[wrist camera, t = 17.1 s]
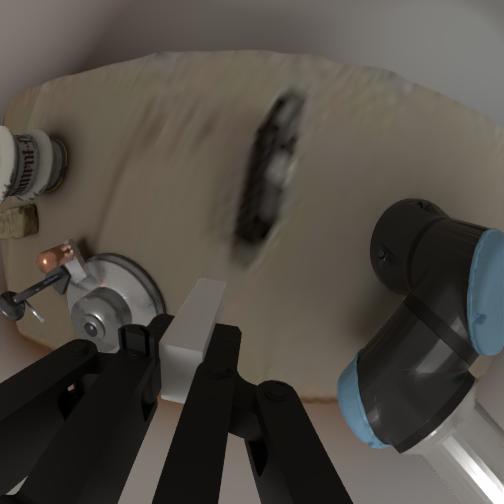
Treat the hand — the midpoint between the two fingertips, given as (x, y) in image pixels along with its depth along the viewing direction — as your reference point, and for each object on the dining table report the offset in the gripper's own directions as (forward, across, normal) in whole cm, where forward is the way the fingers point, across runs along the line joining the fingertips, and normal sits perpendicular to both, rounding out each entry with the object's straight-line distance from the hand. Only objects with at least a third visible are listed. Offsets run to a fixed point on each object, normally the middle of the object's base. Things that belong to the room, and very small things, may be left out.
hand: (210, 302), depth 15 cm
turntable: (+23, +21, +14) cm, 34 cm away
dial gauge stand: (+24, +32, +14) cm, 42 cm away
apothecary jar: (+25, +36, -7) cm, 44 cm away
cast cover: (+21, +20, +16) cm, 33 cm away
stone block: (+25, +44, +4) cm, 51 cm away
